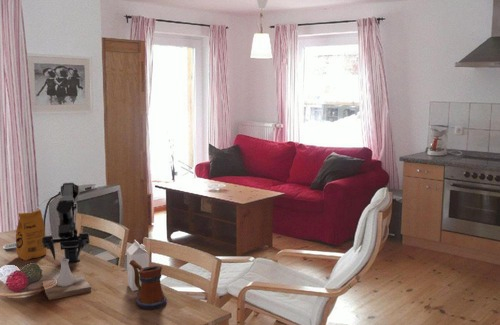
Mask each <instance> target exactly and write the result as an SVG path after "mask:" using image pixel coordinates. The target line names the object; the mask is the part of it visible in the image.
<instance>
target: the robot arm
mask: <svg viewBox="0 0 500 325" xmlns="http://www.w3.org/2000/svg"><path fill="white" fill-rule="evenodd" d="M60 196H61V197H60V198H58V202H57V203H56V212H57V215H58V218H59V225H58V232H57V233H58V237H55V238H54V237H53V235H45V236H44V237H43V238H42V243H43V246H44V247H45V248H46V250H50V252H51V255H52V257H53V260H55V261H56V250H55V244H58V243H60V250H63V251H64V257H63V258H62V259H68V260H69V261H68V264H70V263H76V262H80V261H81V259H80V258H79V256H80V255H81V252H82V250H83V249H84V247H86V246H87V245H89V244H90V242H91V241H90V240H91V239H90V234H89V232H79V233H78V230H77V228H76V227H77V225H76V222H75V221H76V219H75V218H76V216H75V214H76V210H77V209H78V204H77V202H78V200H79V196H80V187H79V185H77V184H75V183H74V182H64V183H63V184H62V185H61V186H60Z"/></svg>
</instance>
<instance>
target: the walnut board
mask: <svg viewBox="0 0 500 325" xmlns="http://www.w3.org/2000/svg"><path fill="white" fill-rule="evenodd" d="M72 275H73V274H72ZM73 277H74V279H75V281H76V283H74V284H73V285H70V286H66V287H62V286H58V285H56V286H54V287H52V288H49V289H47V290H45V291H44V293H45V295H46V297H47V298H48V300H49V301H51V300H56V299H61V298H65V297H71V296H75V295H81V294H86V293H91V292H92V287H91V285H90V284H89V282H88V280H87V279H86V277H85V276H84V275H83V274H82V273H79V274H74V275H73Z"/></svg>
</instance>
